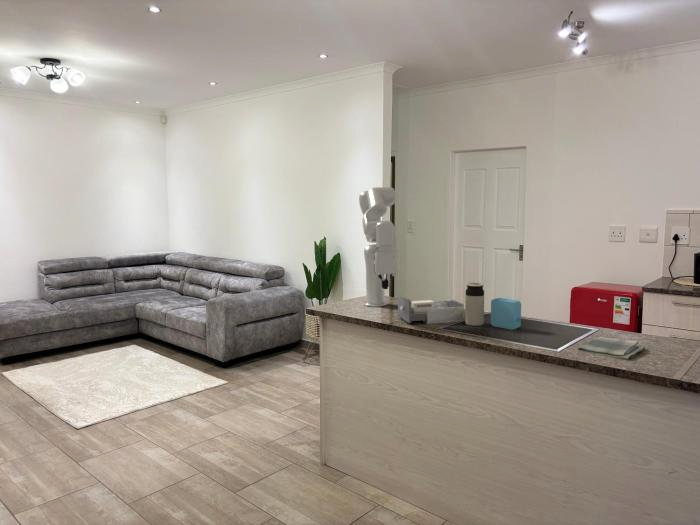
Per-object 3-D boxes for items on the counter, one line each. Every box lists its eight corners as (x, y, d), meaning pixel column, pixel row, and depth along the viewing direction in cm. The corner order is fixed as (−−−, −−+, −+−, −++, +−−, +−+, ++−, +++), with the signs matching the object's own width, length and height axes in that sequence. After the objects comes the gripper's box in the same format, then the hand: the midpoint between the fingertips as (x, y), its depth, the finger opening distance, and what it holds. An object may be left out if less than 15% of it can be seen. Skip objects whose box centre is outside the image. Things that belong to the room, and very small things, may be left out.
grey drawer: (395, 315, 250) (395, 294, 249) (432, 313, 254) (432, 292, 253) (406, 323, 235) (406, 300, 234) (445, 320, 240) (445, 298, 238)
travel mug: (471, 326, 231) (471, 285, 229) (461, 322, 239) (462, 283, 236) (487, 325, 234) (487, 284, 231) (477, 321, 241) (477, 281, 239)
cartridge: (410, 314, 246) (410, 301, 246) (430, 312, 248) (430, 299, 248) (413, 316, 241) (413, 303, 241) (434, 315, 244) (434, 302, 243)
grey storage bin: (414, 316, 253) (414, 299, 252) (448, 313, 257) (448, 297, 256) (427, 324, 237) (427, 306, 236) (463, 321, 241) (463, 303, 240)
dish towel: (576, 351, 196) (576, 343, 195) (595, 341, 208) (596, 333, 207) (630, 362, 182) (630, 353, 182) (647, 351, 195) (648, 342, 194)
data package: (520, 328, 227) (521, 300, 225) (515, 330, 224) (516, 302, 222) (495, 323, 236) (496, 297, 234) (490, 325, 233) (490, 298, 231)
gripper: (371, 250, 237) (371, 291, 239) (403, 248, 241) (403, 289, 243) (366, 249, 245) (367, 288, 247) (397, 247, 248) (398, 286, 250)
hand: (385, 288), depth 245 cm, fingers closed
